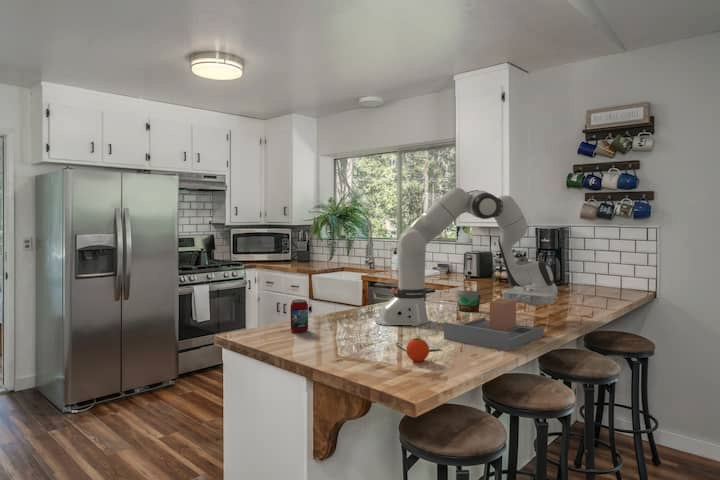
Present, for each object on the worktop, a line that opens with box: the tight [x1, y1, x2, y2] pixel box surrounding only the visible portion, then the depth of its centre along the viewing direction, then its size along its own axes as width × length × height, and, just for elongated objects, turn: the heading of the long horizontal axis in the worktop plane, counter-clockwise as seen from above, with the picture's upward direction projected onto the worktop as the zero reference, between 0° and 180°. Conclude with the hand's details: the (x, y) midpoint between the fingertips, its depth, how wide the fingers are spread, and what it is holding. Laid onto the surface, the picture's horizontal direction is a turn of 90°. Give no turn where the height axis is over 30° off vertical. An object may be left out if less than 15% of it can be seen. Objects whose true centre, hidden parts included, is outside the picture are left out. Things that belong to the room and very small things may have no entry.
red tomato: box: [405, 337, 430, 362], centre depth 149 cm, size 8×7×7 cm
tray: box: [443, 316, 545, 352], centre depth 178 cm, size 29×25×6 cm
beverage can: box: [290, 298, 309, 334], centre depth 188 cm, size 7×7×12 cm
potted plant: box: [455, 289, 483, 313], centre depth 228 cm, size 12×6×10 cm, turn 68°
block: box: [489, 298, 517, 331], centre depth 183 cm, size 10×6×10 cm, turn 137°
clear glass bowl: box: [394, 334, 442, 352], centre depth 165 cm, size 12×12×5 cm
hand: (520, 299), depth 192 cm, fingers closed
